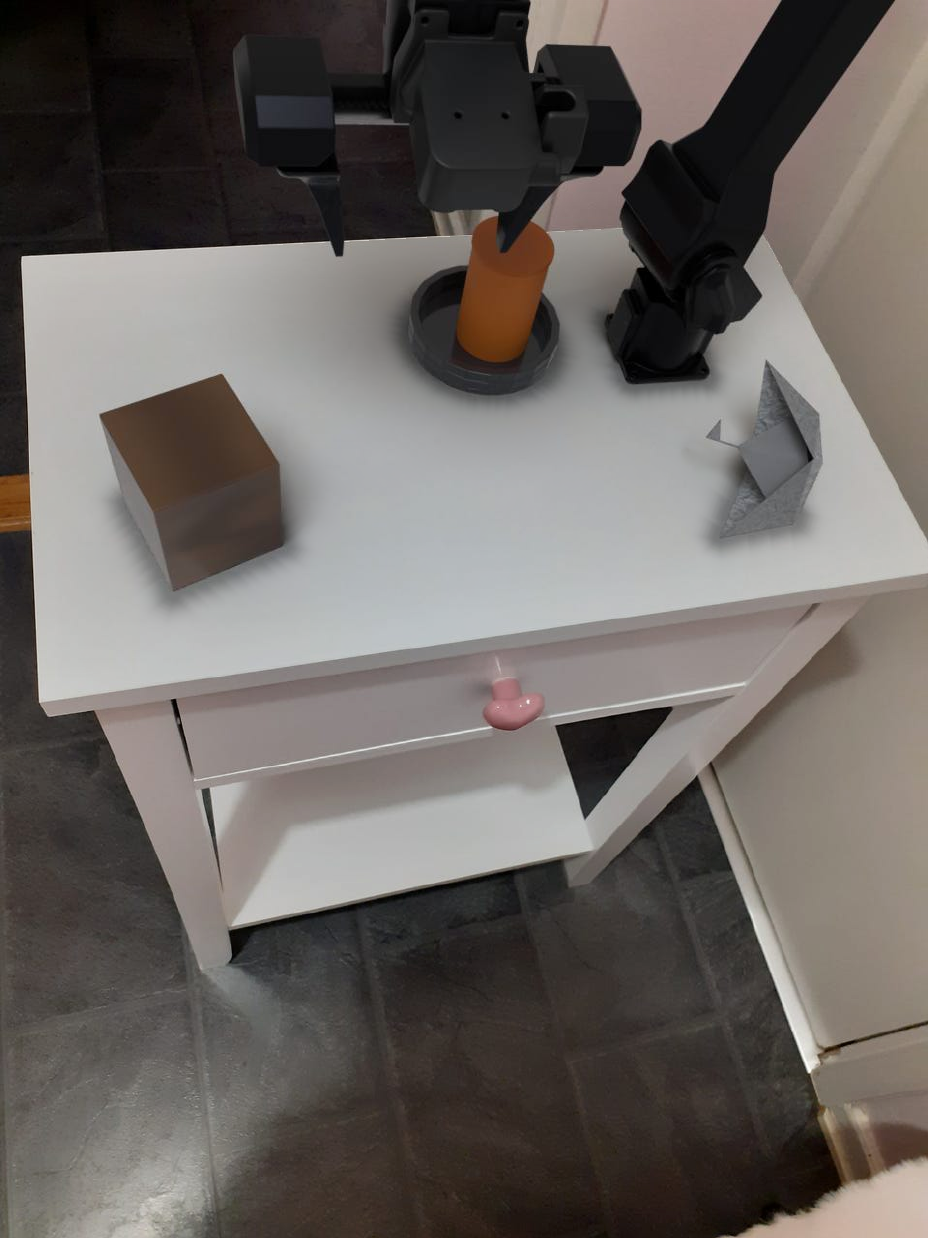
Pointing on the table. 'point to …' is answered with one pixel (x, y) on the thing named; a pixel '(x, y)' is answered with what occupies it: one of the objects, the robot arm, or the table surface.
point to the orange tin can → (502, 291)
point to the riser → (196, 479)
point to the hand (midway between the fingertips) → (421, 249)
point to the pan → (451, 362)
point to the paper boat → (776, 459)
